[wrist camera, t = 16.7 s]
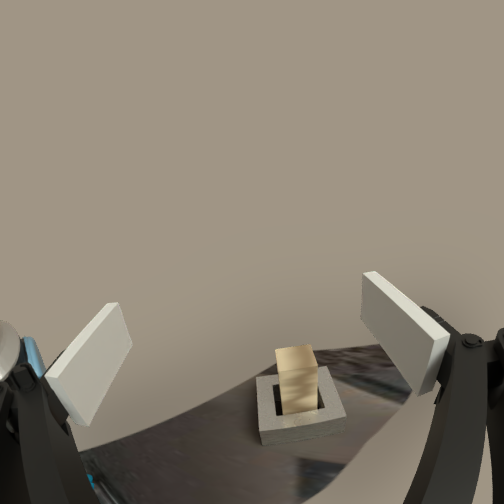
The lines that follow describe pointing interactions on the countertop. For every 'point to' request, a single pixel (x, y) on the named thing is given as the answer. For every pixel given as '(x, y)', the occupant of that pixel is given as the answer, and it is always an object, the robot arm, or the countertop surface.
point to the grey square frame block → (299, 424)
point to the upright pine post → (297, 379)
